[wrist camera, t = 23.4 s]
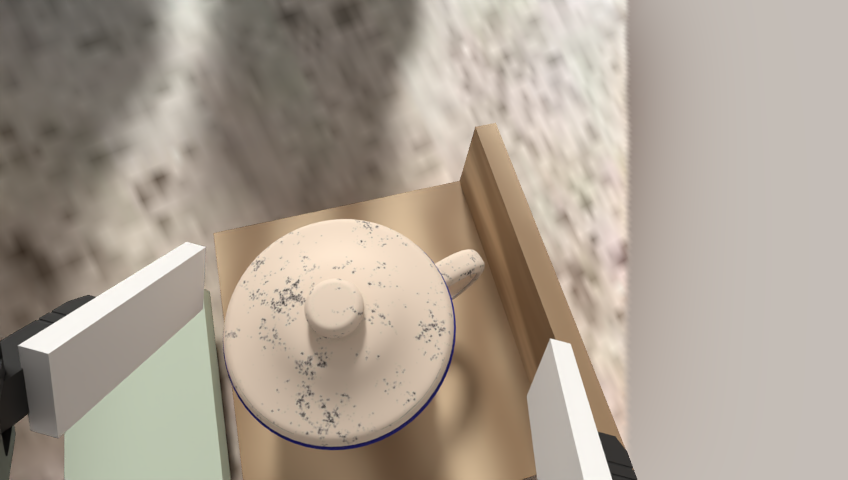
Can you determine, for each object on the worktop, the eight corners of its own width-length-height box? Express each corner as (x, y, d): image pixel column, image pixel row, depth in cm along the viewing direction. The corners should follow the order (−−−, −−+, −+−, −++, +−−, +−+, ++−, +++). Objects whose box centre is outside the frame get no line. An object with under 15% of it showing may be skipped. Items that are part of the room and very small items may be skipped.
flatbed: (469, 197, 34) (495, 123, 25) (559, 457, 27) (633, 470, 19) (229, 250, 31) (170, 185, 22) (269, 552, 25) (208, 618, 16)
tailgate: (202, 287, 26) (65, 322, 26) (224, 496, 22) (64, 544, 22) (214, 294, 28) (84, 327, 27) (236, 491, 24) (86, 536, 23)
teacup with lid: (321, 479, 23) (264, 524, 13) (247, 328, 26) (147, 259, 15) (507, 354, 27) (588, 305, 16) (424, 230, 29) (445, 116, 18)
